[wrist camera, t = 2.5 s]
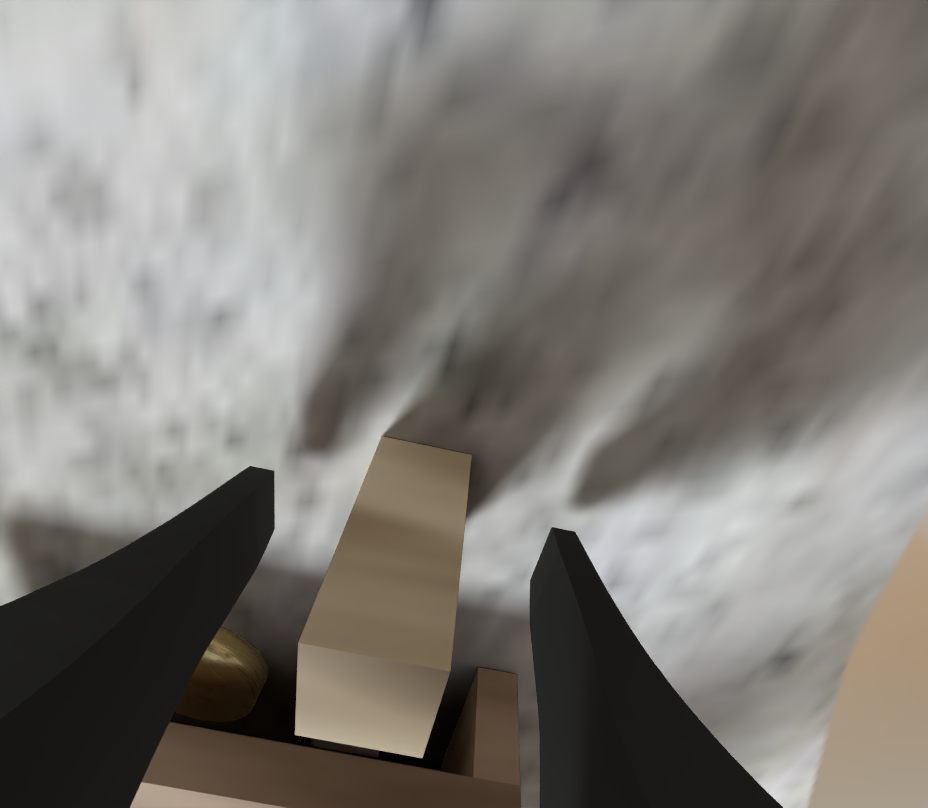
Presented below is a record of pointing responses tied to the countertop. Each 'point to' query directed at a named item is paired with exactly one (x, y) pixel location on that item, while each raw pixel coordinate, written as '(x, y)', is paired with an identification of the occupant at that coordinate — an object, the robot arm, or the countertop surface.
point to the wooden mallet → (387, 607)
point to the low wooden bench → (343, 766)
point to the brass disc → (225, 680)
